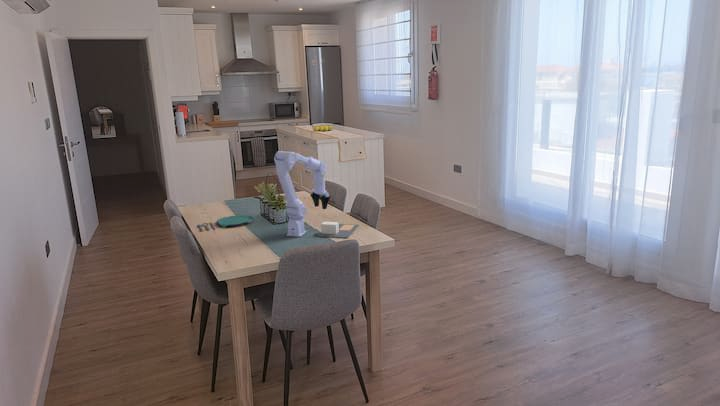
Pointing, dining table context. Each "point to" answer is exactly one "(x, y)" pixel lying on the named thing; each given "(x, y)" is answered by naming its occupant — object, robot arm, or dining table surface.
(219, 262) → the dining table surface
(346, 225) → the mat
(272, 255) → the dining table surface
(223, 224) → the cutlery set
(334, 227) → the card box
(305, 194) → the dining table surface
